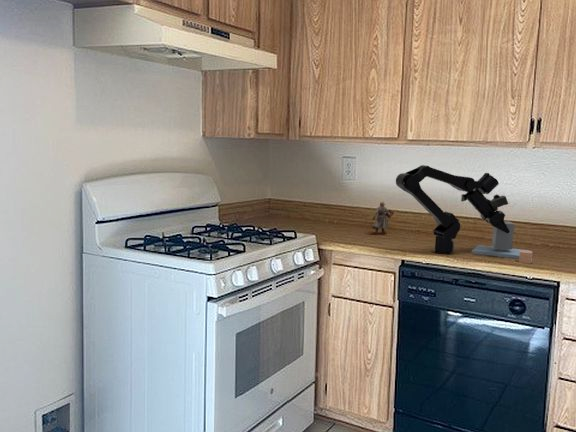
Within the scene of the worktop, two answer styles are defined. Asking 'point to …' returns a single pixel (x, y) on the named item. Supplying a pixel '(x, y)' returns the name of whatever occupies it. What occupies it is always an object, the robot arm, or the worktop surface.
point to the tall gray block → (503, 237)
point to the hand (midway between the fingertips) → (506, 231)
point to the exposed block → (525, 257)
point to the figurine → (381, 218)
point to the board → (497, 251)
